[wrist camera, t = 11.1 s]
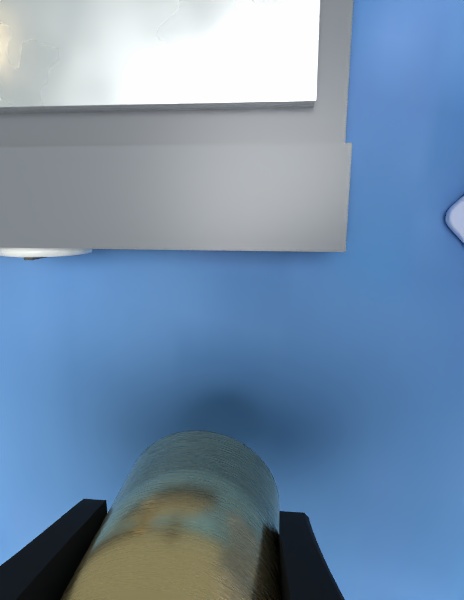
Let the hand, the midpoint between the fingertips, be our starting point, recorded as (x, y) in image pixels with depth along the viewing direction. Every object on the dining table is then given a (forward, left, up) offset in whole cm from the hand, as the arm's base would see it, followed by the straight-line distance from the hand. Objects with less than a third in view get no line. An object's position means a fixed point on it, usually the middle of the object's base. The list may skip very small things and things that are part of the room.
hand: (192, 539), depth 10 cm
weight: (0, 0, -2) cm, 2 cm away
